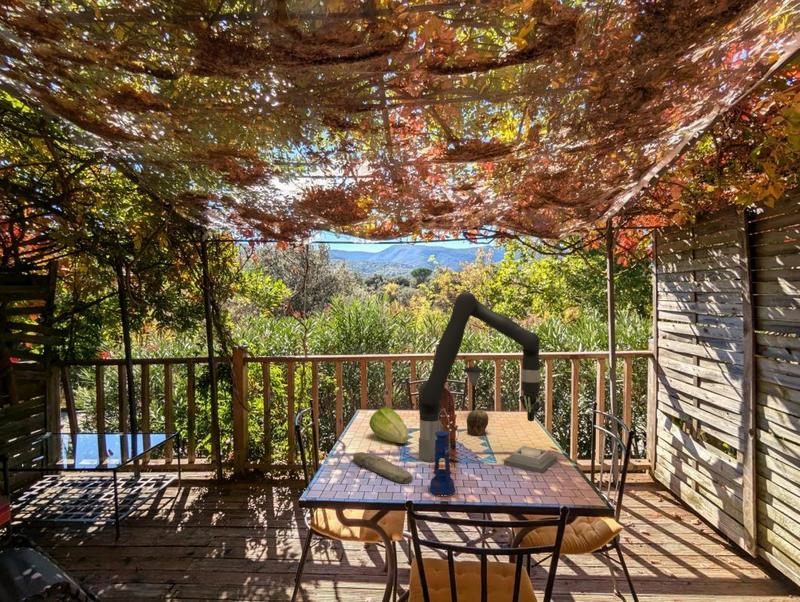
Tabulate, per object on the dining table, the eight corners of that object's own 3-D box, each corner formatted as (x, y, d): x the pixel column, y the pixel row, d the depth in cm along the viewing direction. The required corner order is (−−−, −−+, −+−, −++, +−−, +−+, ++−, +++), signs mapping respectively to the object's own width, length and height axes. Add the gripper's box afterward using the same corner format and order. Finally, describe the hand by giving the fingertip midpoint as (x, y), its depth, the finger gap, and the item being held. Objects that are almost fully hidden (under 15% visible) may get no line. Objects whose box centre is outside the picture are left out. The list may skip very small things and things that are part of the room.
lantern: (424, 487, 169) (424, 406, 168) (447, 483, 172) (447, 404, 172) (436, 499, 159) (436, 413, 159) (460, 494, 162) (460, 411, 162)
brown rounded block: (488, 437, 227) (488, 413, 226) (466, 436, 228) (466, 412, 228) (488, 431, 237) (488, 408, 237) (466, 430, 239) (466, 407, 239)
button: (536, 462, 187) (536, 455, 187) (518, 458, 192) (518, 451, 192) (543, 456, 193) (543, 449, 193) (525, 452, 198) (525, 445, 198)
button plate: (541, 473, 181) (541, 462, 181) (504, 464, 191) (504, 454, 190) (557, 460, 195) (556, 450, 195) (521, 452, 205) (521, 442, 205)
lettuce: (416, 451, 222) (388, 461, 214) (391, 422, 241) (364, 431, 233) (418, 426, 216) (389, 436, 208) (393, 399, 235) (365, 407, 227)
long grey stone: (399, 491, 169) (418, 485, 176) (400, 477, 169) (419, 471, 176) (346, 460, 196) (364, 456, 202) (346, 448, 196) (365, 444, 202)
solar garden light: (481, 417, 263) (481, 365, 263) (487, 423, 251) (487, 369, 250) (460, 418, 262) (460, 366, 262) (465, 424, 250) (465, 369, 250)
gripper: (548, 382, 187) (548, 424, 188) (528, 376, 200) (528, 416, 200) (533, 383, 185) (533, 426, 185) (513, 377, 197) (513, 417, 197)
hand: (530, 420), depth 192 cm, fingers closed
